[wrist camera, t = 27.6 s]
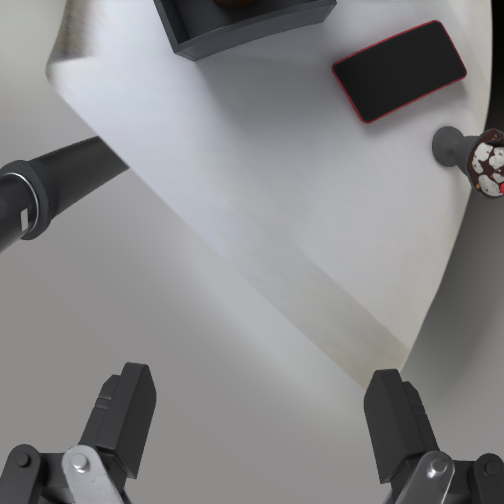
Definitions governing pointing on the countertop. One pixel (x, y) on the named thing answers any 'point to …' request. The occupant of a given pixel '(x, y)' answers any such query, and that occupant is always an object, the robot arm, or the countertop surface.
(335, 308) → the countertop surface
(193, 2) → the bin
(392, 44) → the smartphone
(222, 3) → the takeaway cup
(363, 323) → the countertop surface
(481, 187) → the sundae
